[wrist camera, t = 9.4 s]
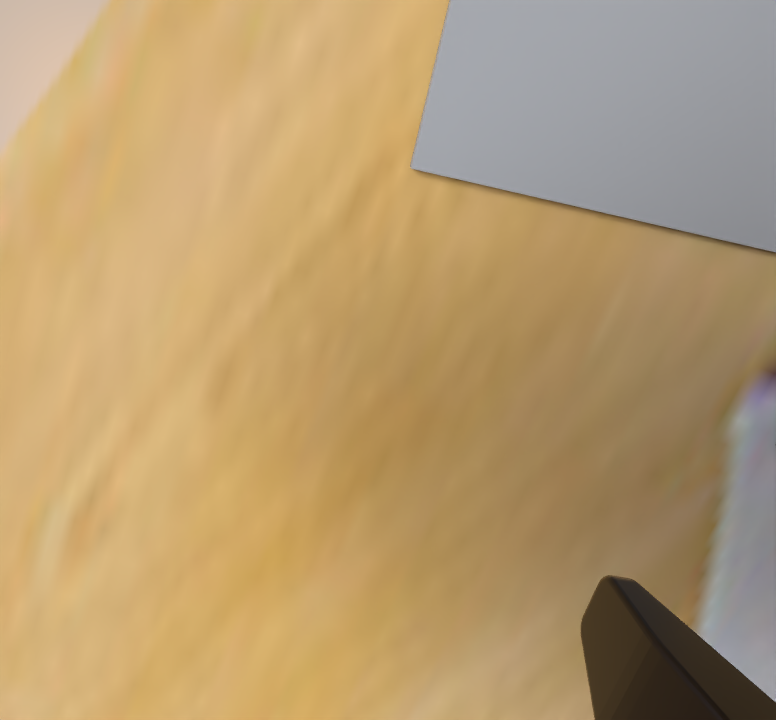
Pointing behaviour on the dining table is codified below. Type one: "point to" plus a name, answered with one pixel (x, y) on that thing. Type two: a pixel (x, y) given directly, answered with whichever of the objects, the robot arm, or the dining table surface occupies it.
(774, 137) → the mat
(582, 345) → the dining table surface
